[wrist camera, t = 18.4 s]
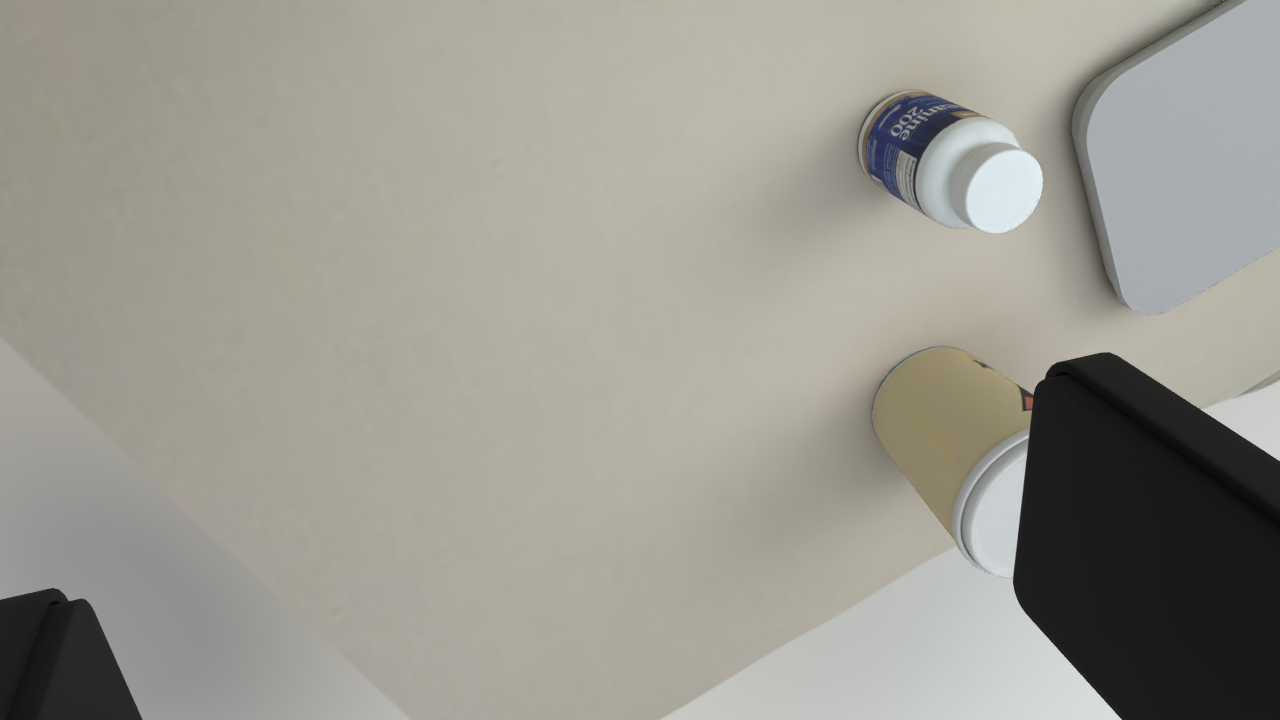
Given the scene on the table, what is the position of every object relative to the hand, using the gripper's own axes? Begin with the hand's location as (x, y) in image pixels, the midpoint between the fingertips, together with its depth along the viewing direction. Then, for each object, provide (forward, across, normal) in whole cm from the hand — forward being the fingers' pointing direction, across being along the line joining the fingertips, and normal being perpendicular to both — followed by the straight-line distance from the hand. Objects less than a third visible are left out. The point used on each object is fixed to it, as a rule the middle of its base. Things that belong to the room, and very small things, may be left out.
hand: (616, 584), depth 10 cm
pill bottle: (+41, -25, +10) cm, 49 cm away
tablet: (+41, -49, +11) cm, 65 cm away
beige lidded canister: (+41, -28, +27) cm, 56 cm away
